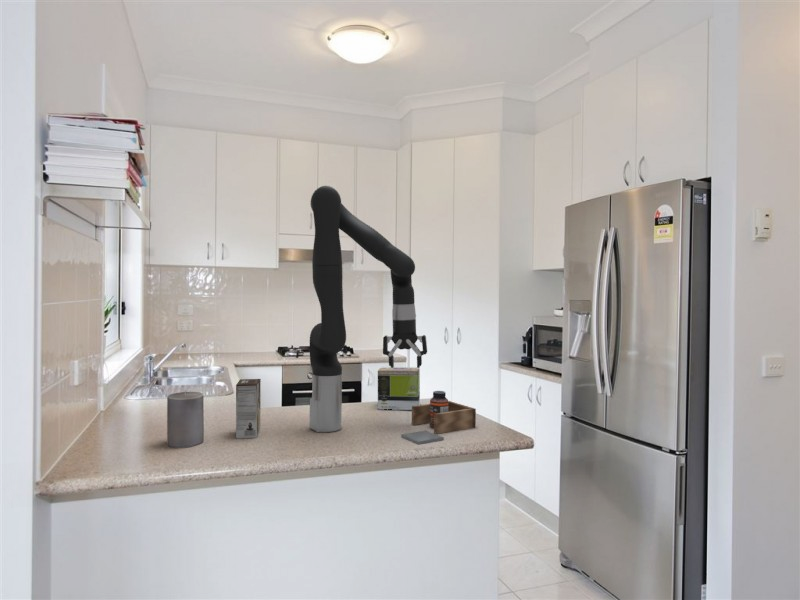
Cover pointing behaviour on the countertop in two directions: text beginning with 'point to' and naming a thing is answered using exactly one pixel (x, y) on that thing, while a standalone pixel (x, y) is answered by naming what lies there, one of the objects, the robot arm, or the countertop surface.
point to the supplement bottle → (438, 405)
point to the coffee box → (248, 408)
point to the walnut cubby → (446, 417)
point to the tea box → (398, 388)
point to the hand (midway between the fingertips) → (405, 367)
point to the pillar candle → (185, 419)
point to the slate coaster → (422, 437)
